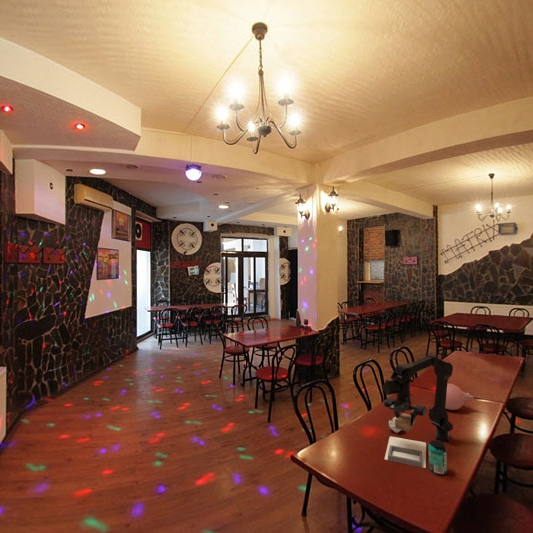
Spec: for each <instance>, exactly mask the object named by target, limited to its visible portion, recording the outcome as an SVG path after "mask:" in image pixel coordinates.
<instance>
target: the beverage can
mask: <svg viewBox="0 0 533 533" xmlns="http://www.w3.org/2000/svg"><path fill="white" fill-rule="evenodd" d="M427 447H428V449H427V450H428V469H429V471H430V472H431V473H432V474H433V475H434V476H435V475H436V476H440V477H443V476H445V475H447V474H448V473H449V472H448V454H447V451H448V450H447V447H446V444H445V442H443V441H438V440H435V439H434V440H430V441H429V444H428V445H427Z"/></svg>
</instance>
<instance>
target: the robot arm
mask: <svg viewBox="0 0 533 533" xmlns="http://www.w3.org/2000/svg"><path fill="white" fill-rule="evenodd" d="M431 366H432V367H433V370H434V373H435V376H436V382H435V392H434V393H435V394H434V405H433V407H430V408H429V409H428V418H429V421H430V422H431V425H433V426H435V434H434V436H435V439H434V440H436V441H440V442H442V443H451V439H450V438H451V437H450V433H449V432H451V431H452V430H453V428H454V425H453V424H452V423H451V422H450V421H449V414H448V412H447V409H446V408H445V405H446V394H447V383H449V382H448V381H449V379H450V378H451V377H452V375H453V370H454V366H453V365H452V363H451V362H447V361H445V360H443V359H440V358H439V357H437V356H435V355H432V354H426V356H424V357H422V358H420V359H417V360H414V361H412V362H409V363H401V364H397V365H396V366H395V368H394V370H393V372H392V374H391V377H390V379H385V382H383V385H382V390H383V392H384V394H385V395H387V396H389V395H396V398H391V397H387V398H386V399H385V400H384V401H383V407H386V408H389V410H391V411H392V412H393V414H394V417H395V416H396V418H397V417H399V416H400V415H401V414H402V413H406V411H411V412H410V415H411V426H413V424H414V421H415V422H416V418H417V417H418V416H422V417H423V416H424V415H425V414H427V408H426V406H425V405H421V404H417V405H416V406H414V405H412V401H411V399H412V398H411V396H412V393H411V384H412V383H414V382H415V381H414V380H413V379H412V378H413V377H414V376H415V375H416V373H418V372H419V371H422V370H424V369H427V368H429V367H431ZM400 413H401V414H400ZM413 427H414V426H413Z"/></svg>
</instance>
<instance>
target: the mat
mask: <svg viewBox="0 0 533 533" xmlns="http://www.w3.org/2000/svg"><path fill="white" fill-rule="evenodd" d="M426 459H427V442H423V441H418V440H412V439H406V438H401V437H398V436H397V437H396V436H390V435H389V438H388V443H387V446H386V452H385V456H384V460H387V461H389V462H390V461H391V462H395V463H400V464H404V465H405V464H406V465H409V466H413V467H418V468H422V469H423V468H425V469H426V466H427V465H426V463H427V462H426V461H427V460H426Z"/></svg>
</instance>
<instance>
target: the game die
mask: <svg viewBox="0 0 533 533" xmlns="http://www.w3.org/2000/svg"><path fill="white" fill-rule="evenodd" d="M395 419H396V416H395V415H394V417H392V418H390V419H389V420H387V422H388V427H387V429H390V430H391V431H393V432H394V433H395V434H398V433H400V432H401V431H402V430H400V429H397V428H395Z"/></svg>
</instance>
